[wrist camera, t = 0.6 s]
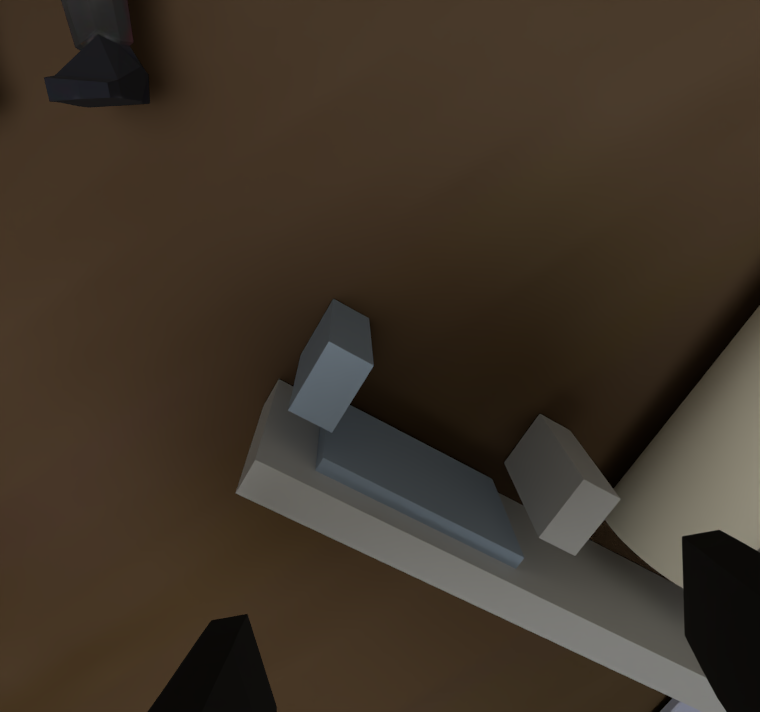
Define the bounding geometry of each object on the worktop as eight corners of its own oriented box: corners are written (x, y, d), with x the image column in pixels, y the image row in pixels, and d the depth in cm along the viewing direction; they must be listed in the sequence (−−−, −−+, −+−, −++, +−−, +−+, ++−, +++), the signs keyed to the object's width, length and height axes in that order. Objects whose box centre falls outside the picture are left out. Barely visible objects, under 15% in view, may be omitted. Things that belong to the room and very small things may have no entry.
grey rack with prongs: (747, 529, 22) (857, 639, 17) (673, 612, 23) (758, 737, 18) (327, 295, 18) (319, 351, 14) (263, 405, 19) (235, 492, 15)
